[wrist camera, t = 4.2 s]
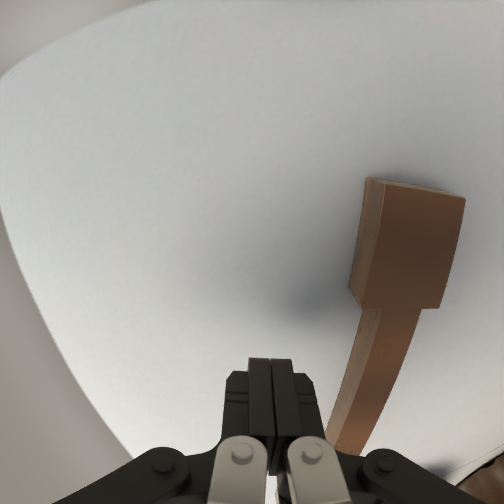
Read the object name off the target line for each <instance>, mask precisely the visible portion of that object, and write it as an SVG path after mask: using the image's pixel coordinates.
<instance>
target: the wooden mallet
mask: <svg viewBox="0 0 504 504" xmlns="http://www.w3.org/2000/svg"><path fill="white" fill-rule="evenodd" d="M465 202H466V199H465V198H463V197H461V196H458V195H455V194H452V193H449V192H446V191H443V190H439V189H433V188H428V187H423V186H417V185H412V184H406V183H400V182H394V181H387V180H381V179H374V178H366V183H365V190H364V198H363V205H362V212H361V219H360V225H359V231H358V238H357V243H356V249H355V255H354V260H353V266H352V271H351V276H350V281H349V286H348V288H349V290H350V291H351V293H352V294H353V296H354V298H355V299H356V301H357V302H358V304H359V306H360V307H361V308H362V309H363V312H362V315H361V319H360V323H359V327H358V331H357V335H356V338H355V342H354V345H353V349H352V353H351V356H350V359H349V363H348V366H347V369H346V373H345V376H344V379H343V382H342V385H341V388H340V391H339V395H338V398H337V400H336V403H335V406H334V409H333V412H332V415H331V418H330V421H329V423H328V426H327V429H326V431H325V437H326V440H327V441H328V442H329V443H330V444H331V445H332V446H333V447H334V449H336V450H338V451H339V452H342V453H345V454H350V455H356V456H359V455H360V453H361V452H362V450H363V448H364V446H365V444H366V442H367V440H368V438H369V436H370V435H371V433H372V431H373V429H374V427H375V425H376V423H377V421H378V418H379V416H380V414H381V412H382V410H383V408H384V406H385V404H386V401H387V399H388V397H389V395H390V392H391V390H392V388H393V385H394V383H395V381H396V378H397V376H398V373H399V371H400V369H401V366H402V363H403V361H404V358H405V356H406V353H407V350H408V348H409V345H410V342H411V339H412V337H413V334H414V331H415V328H416V325H417V322H418V319H419V316H420V313H421V310H422V309H438V308H439V307H440V304H441V301H442V298H443V294H444V291H445V288H446V284H447V281H448V277H449V274H450V270H451V266H452V262H453V258H454V254H455V250H456V246H457V242H458V237H459V233H460V228H461V223H462V218H463V213H464V207H465Z"/></svg>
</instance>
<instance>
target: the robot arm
mask: <svg viewBox="0 0 504 504" xmlns="http://www.w3.org/2000/svg"><path fill="white" fill-rule="evenodd" d="M267 472H269V476H277V489H276V492H275V497H276V503H277V504H488V503H486V502H484V501H482V500H480V499H478V498H476V497H474V496H472V495H470V494H468V493H467V492H465V491H463V490H461V489H459V488H457V487H455V486H454V485H452V484H450V483H448V482H446V481H445V480H443V479H441V478H439V477H438V476H436V475H434V474H432V473H431V472H429V471H427V470H426V469H424V468H422V467H421V466H419V465H417V464H416V463H414V462H412V461H411V460H409V459H407V458H406V457H404V456H403V455H401V454H399V453H398V452H396V451H394V450H391V449H384V448H383V449H376V450H373V451H371V452H370V453H369V454H367V456H366V457H362V456H356V455H350V454H345V453H342V452H339V451H338V450H336V449H334V447H333V446H332V445H331V444H330V443H329V442H328V441H327V440H326V437H325V433H324V429H323V424H322V420H321V416H320V411H319V407H318V404H317V398H316V396H315V389H314V385H313V382H312V381H311V380H310V379H309V377H308V376H307V375H306V374H305V373H294V372H293V366H292V361H291V359H270V360H269V359H268V358H249V360H248V371H233V372H232V373H231V374H230V376H229V377H228V379H227V380H226V390H225V402H224V412H223V424H222V435H221V439H220V441H219V443H218V444H217V445H216V446H215V447H214V448H213V449H211V450H209V451H207V452H205V453H201V454H196V455H189V456H184V455H183V454H182V453H181V452H180V451H178V450H176V449H173V448H169V447H157V448H153V449H150V450H148V451H147V452H145V453H143V454H142V455H140V456H138V457H137V458H135V459H133V460H132V461H130V462H129V463H127V464H125V465H123V466H122V467H120V468H118V469H117V470H115V471H113V472H111V473H110V474H108V475H106V476H104V477H103V478H101V479H99V480H97V481H95V482H93V483H92V484H90V485H88V486H86V487H84V488H82V489H80V490H79V491H77V492H75V493H73V494H71V495H69V496H67V497H65V498H63V499H61V500H59V501H57V502H55V503H52V504H265V492H266V476H267Z"/></svg>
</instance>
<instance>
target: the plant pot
mask: <svg viewBox="0 0 504 504" xmlns="http://www.w3.org/2000/svg"><path fill="white" fill-rule="evenodd" d="M457 488H459V489H461V490H463V491H465V492H467V493H468V494H470V495H472V496H474V497H476V498H478V499H480V500H482V501H484V502H486V503H488V504H504V454H503V455H501V456H500V457H498V458H496V459H495V460H494V463H493V464H492V465H491V466H489V467H487V468H481V469H480V470H478V471H477V472H476V473H474V474H473V475H472V476H470V477H469V478H468V479H466V480H464V481H463V482H462V483H461V484H460V485H458V486H457Z"/></svg>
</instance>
